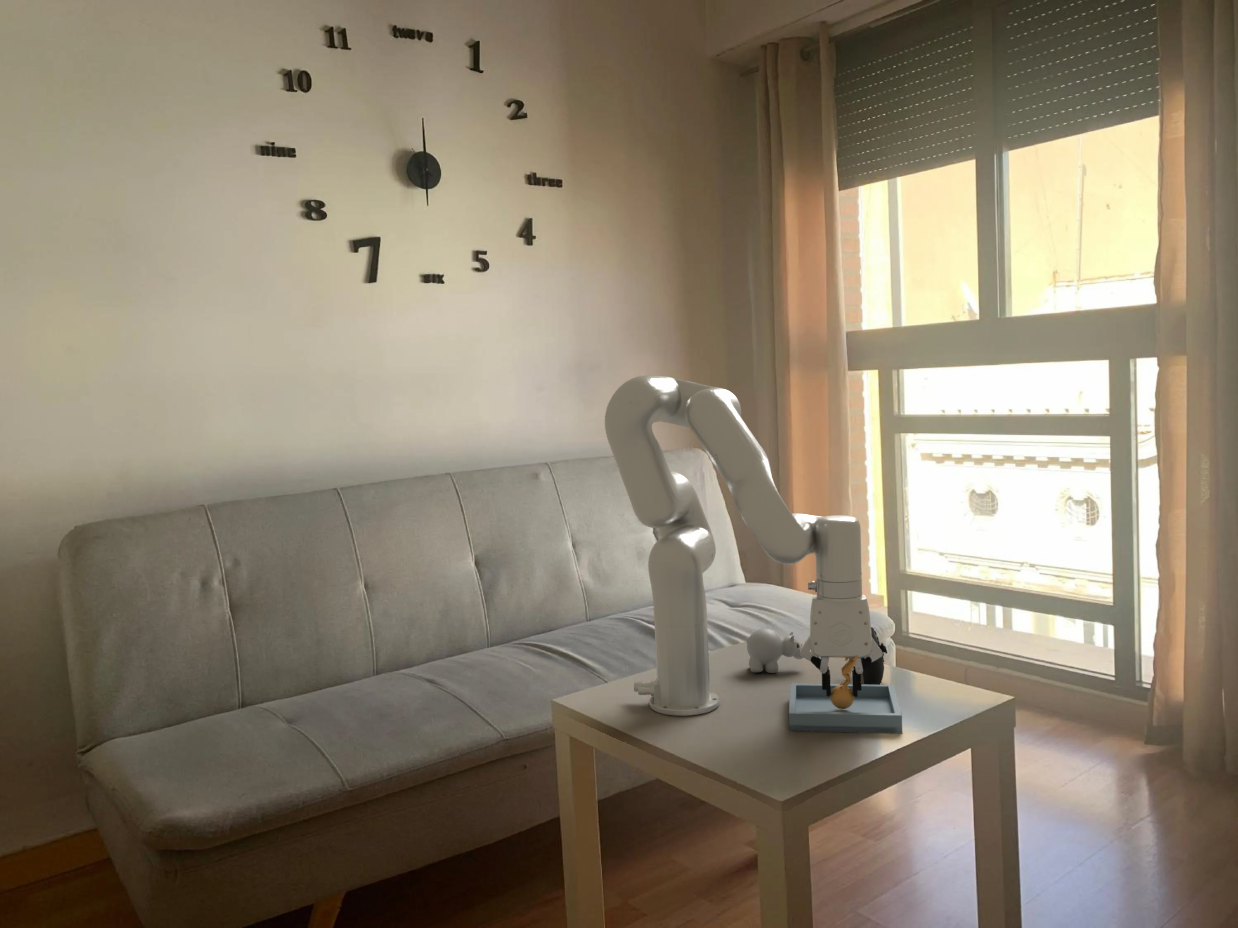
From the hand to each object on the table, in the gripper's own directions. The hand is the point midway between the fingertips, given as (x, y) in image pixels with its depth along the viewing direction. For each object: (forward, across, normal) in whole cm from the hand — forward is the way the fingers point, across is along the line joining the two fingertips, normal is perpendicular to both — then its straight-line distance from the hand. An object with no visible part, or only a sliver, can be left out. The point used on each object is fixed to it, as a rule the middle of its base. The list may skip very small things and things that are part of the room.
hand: (841, 692), depth 166 cm
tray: (+4, 0, 0) cm, 4 cm away
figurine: (+3, +1, 0) cm, 3 cm away
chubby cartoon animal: (+4, -12, +26) cm, 29 cm away
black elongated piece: (+4, +6, +20) cm, 21 cm away
